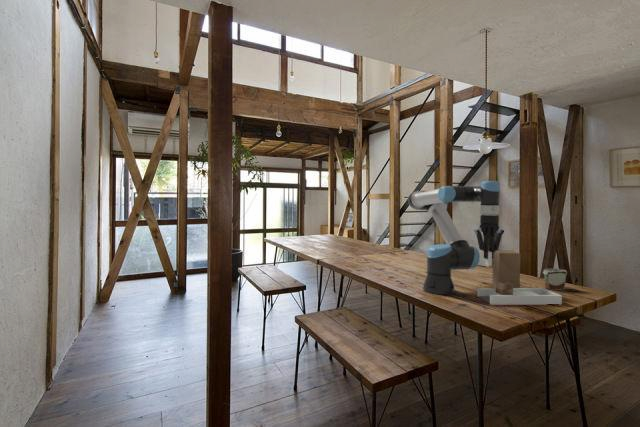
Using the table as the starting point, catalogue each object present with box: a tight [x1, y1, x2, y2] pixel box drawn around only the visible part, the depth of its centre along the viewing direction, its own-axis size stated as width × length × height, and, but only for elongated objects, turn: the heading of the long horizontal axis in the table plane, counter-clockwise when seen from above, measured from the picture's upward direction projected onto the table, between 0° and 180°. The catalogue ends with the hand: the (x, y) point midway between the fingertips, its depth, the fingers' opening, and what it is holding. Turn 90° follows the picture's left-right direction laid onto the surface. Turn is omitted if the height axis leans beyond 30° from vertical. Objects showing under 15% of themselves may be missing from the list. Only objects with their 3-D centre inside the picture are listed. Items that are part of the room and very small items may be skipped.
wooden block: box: [491, 249, 522, 288], centre depth 166 cm, size 10×10×20 cm
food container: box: [542, 268, 568, 291], centre depth 169 cm, size 12×6×10 cm, turn 100°
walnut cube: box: [496, 282, 513, 295], centre depth 148 cm, size 5×5×5 cm
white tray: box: [476, 287, 563, 306], centre depth 148 cm, size 32×12×4 cm, turn 91°
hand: (488, 265), depth 147 cm, fingers closed
